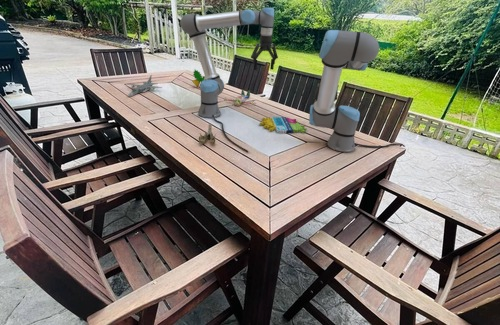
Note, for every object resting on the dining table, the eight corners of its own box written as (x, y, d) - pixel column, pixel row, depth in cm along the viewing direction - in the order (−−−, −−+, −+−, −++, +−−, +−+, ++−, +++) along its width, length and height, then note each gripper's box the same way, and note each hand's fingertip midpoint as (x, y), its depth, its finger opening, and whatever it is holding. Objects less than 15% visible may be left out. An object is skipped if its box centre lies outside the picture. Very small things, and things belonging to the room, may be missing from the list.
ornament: (209, 91, 261) (213, 76, 259) (211, 91, 253) (215, 75, 251) (188, 84, 252) (192, 69, 250) (190, 84, 245) (194, 68, 243)
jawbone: (218, 127, 153) (216, 117, 144) (216, 150, 146) (215, 141, 137) (202, 127, 153) (199, 117, 144) (200, 150, 146) (197, 140, 137)
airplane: (122, 86, 237) (119, 75, 232) (157, 84, 250) (156, 74, 245) (126, 99, 209) (123, 86, 204) (166, 96, 222) (165, 84, 217)
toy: (261, 91, 228) (254, 99, 202) (261, 99, 231) (253, 108, 205) (231, 87, 233) (220, 95, 207) (230, 95, 236) (219, 104, 210)
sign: (308, 131, 166) (261, 129, 163) (307, 133, 167) (261, 132, 164) (299, 117, 188) (257, 116, 186) (298, 119, 189) (257, 118, 186)
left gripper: (252, 35, 161) (250, 71, 171) (285, 36, 172) (281, 70, 182) (246, 34, 166) (245, 69, 176) (278, 35, 177) (275, 68, 188)
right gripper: (342, 74, 169) (335, 108, 180) (312, 73, 166) (306, 107, 177) (348, 76, 162) (339, 111, 174) (316, 75, 159) (309, 111, 170)
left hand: (263, 69), depth 179 cm, fingers open, 13 cm apart
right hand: (322, 109), depth 175 cm, fingers closed on tin, 8 cm apart
